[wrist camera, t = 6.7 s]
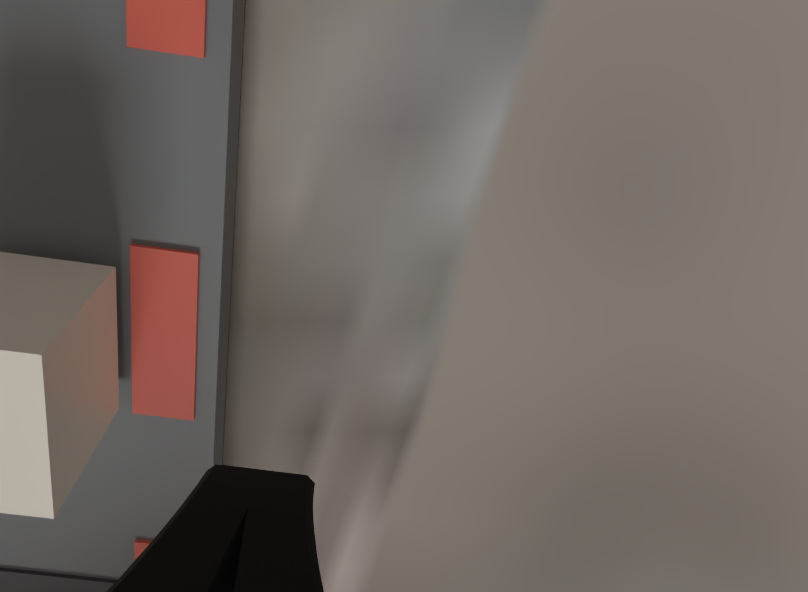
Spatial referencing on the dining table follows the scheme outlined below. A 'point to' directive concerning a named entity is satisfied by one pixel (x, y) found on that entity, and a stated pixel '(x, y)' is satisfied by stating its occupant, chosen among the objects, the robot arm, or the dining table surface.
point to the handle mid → (53, 376)
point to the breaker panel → (126, 248)
